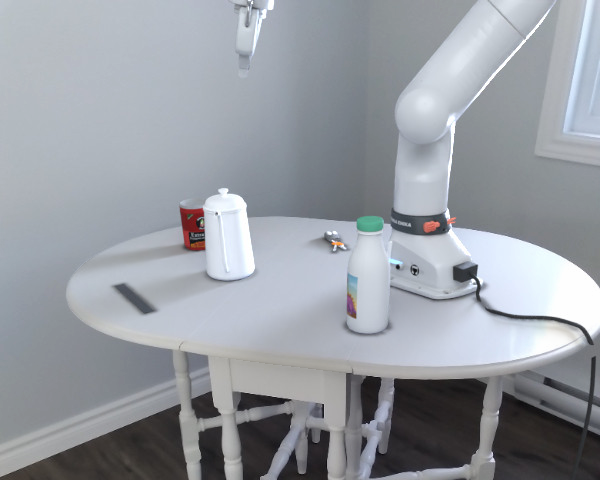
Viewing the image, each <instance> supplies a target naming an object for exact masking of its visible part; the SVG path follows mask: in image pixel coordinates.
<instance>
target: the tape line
mask: <svg viewBox="0 0 600 480" xmlns="http://www.w3.org/2000/svg"><path fill="white" fill-rule="evenodd" d="M114 287H115V288H116V289H117V290H118V291H119V292H120V293H121V294H122V295H124V296H125V297H126V298H127V299H128V300H129V301H130V302H131V303H132V304H133V305H134V306H135V307H137V308H138V309H139V310H140V311H141V312H142V313H143V314H147V313H152V312H154V311H155V310H154V309H153V308H152V307H151V306H150V305H148V304H147V303H146V302H145V301H144V300H143V299H142V298H141V297H139V296H138V295H137V294H136V293H135V292H133V290H131V288H129V287H128V286H127V285H126V284H125V283H122V284H117V285H114Z"/></svg>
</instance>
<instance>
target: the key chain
mask: <svg viewBox="0 0 600 480" xmlns="http://www.w3.org/2000/svg"><path fill="white" fill-rule="evenodd" d="M323 236H324V238H325V239H326V240H327V241H328V242H330V243H331V245H332V246H333V249H332V252H334V253H335V252H336V250H337V248H340V249H342V250H347V247H345V243H342V242H340V240H341V239H340V237H341V236H340V235H339V234H338V232H337V231H335V230H332V231H325V232H323Z"/></svg>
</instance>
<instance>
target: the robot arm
mask: <svg viewBox="0 0 600 480" xmlns="http://www.w3.org/2000/svg"><path fill="white" fill-rule="evenodd" d="M228 2H229V3H231V4H234V7H233V8H234V9H233V13H234V14H236V15H238V16H237V25H236V33H235V43H234V44H235V45H234V50H235V51H234V52H235V54H237V55H238V72H237V76H238V77H239V78H240V79H247V78H248V73H249V70H250V68H251V67H250V66H251V59H252V57H253V56H254V54H255V52H256V51H255V50H256V46H257V43H258V41H259V36H260V32H261V27H262V23H263V19H267V11H273V10H274V5H275V0H228ZM556 2H557V0H476V2H475V3H474V4H473V5H472V7H470V9H469V10H468V11H467V13H466V14H465V15H464V16H463V18H461V20H460V21H459V22H458V24H457V25H456V26H455V27H454V28H453V30H452V31H451V32H450V34H448V36H447V37H446V38H445V40H443V42H442V43H441V44H440V46H439V47H438V48H437V49H436V51H435V52H434V53H433V54H432V55H431V56H430V58H429V59H428V60H427V61H426V63H425V64H424V65H423V66H422V67H421V68H420V69H419V71H418V73H416V75H415V76H414V77H413V78H412V80H411V81H410V82H409V83H408V84H407V86H406V87H405V88H404V89H403V90H402V91H401V93H400V94H399V96H398V98H397V99H396V103H395V106H394V113H393V114H394V123H395V126H396V128H397V131H398V140H397V149H396V150H397V151H396V159H395V165H394V166H395V168H394V184H393V185H394V187H393V205H392V208H391V210H390V215H389V218H390V223H389V225H390V227H391V232H390V236H389V239H388V243H387V248H386V252H387V254H388V257H389V261H390V287H391V286H392V287H394V288H397V289H401V290H404V291H407V292H410V293H413V294H416V295H420V296H423V297H426V298H429V299H433V300H449V299H452V298H453V299H454V298H458V297H462V296H466V295H468V294H471V293H473V292H475V297H476V300H477V301H478V302H480V303H482V298H481V295H480V291H481V289H482V287H483V285H484V280H483V279H482V278H480V277H478V269H479V264H478V263H475V262H473V258H472V255H471V254H470V252H469V251H468V249H467V248H466V247H465V246H464V245H463V244H462V242H461V241H460V240H459V238H458V237H457V236H456V234H455V233H454V232H453V230H452V228H453V227H452V224H455V223H456V221H455V220H456V219H457V217H455V216H454V217H451V216H450V211H449V209H448V198H449V189H450V177H451V176H450V175H451V167H452V158H453V157H452V155H453V147H454V136H455V135H454V134H455V126H456V122H457V121H458V120H459V119H460V117H461V116H462V115H463V114H464V113H465V112H466V110H467V109H468V108H469V107H470V106H471V105H472V103H473V102H474V101H475V99H476V98H477V97H478V96H479V95H480V94H481V93H482V91H483V90H484V89H485V88H486V86H487V85H488V84H489V83H490V81H492V79H493V78H494V77H495V76H496V74H497V73H499V71H500V70H501V69H502V68H503V67H504V66H505V65H506V64H507V62H508V61H509V60H510V59H511V58H512V57H513V56H514V55H515V53H516V52H517V51H518V50H519V49H520V48H521V47H522V45H523V44H525V42H526V40H528V39H529V38H530V36H532V34H533V33H534V32H535V30H536V29H537V28H539V25H541V24H542V22H543V21H544V19H545V18H546V17H547V15H549V12H550V11H551V9H552V8H553V7H554V5H555V4H556ZM484 309H485V310H486V311H487V312H489V313H491V314H494V315H497V316H501V317H504V318H507V319H514V320H515V319H516V320H538V321H539V320H543V321H553V322H558V323H561V324H565V325H568V326H572V327H575V328H576V329H579V330H580V331H581V333H582V334H583V336H584V337H585V339H586V341H587V344H588V345H590V346H594V345H595V344H594V341H593V339H592V337H591V335H590V333H589V331H588V330H587V329H586V327H584V325H582V324H580V323H578V322H575V321H572V320H568V319H566V318H562V317H558V316H551V315H532V314H531V315H530V314H529V315H525V314H512V313H508V312H504V311H501V310H496V309H494V308H489V307H486V306H485V308H484ZM590 361H591V362H590V363H591V364H590V380H589V391H588V392H589V393H588V401H587V407H586V414H585V418H584V424H583V428H582V433H581V436H580V441H579V445H578V450H577V453H576V457H575V460H574V463H573V467H572V471H571V473H570V478H569V480H575V478H576V475H577V472H578V466H579V464H580V460H581V457H582V452H583V449H584V447H585V442H586V439H587V434H588V430H589V425H590V420H591V415H592V409H593V402H594V395H595V385H596V369H597V368H596V367H597V355H594V356H592V357H591V359H590Z"/></svg>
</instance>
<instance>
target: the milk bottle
mask: <svg viewBox="0 0 600 480" xmlns="http://www.w3.org/2000/svg"><path fill="white" fill-rule="evenodd" d="M384 224H385V223H384V219H383V218H382V217H381V216H376V215H364V216H360V217H357V219H356V233H357V237H356V241H355V245H354V247H353V249H352V251H351V253H350V255H349V258H348V261H347V274H346V324H347V327H348V329H349V330H351V331H352V332H355V333H359V334H365V335H366V334H367V335H369V334H378V333H381V332H383V331H385V330H386V329H387V327H388V325H389V320H390V319H389V318H390V316H389V315H390V297H391V292H390V291H391V285H390V261H389V257H388V254H387V248H386V246H385V244H384V239H383V233H384Z"/></svg>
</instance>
